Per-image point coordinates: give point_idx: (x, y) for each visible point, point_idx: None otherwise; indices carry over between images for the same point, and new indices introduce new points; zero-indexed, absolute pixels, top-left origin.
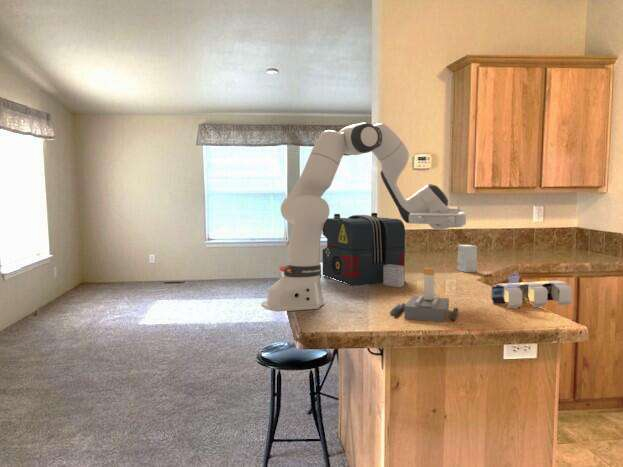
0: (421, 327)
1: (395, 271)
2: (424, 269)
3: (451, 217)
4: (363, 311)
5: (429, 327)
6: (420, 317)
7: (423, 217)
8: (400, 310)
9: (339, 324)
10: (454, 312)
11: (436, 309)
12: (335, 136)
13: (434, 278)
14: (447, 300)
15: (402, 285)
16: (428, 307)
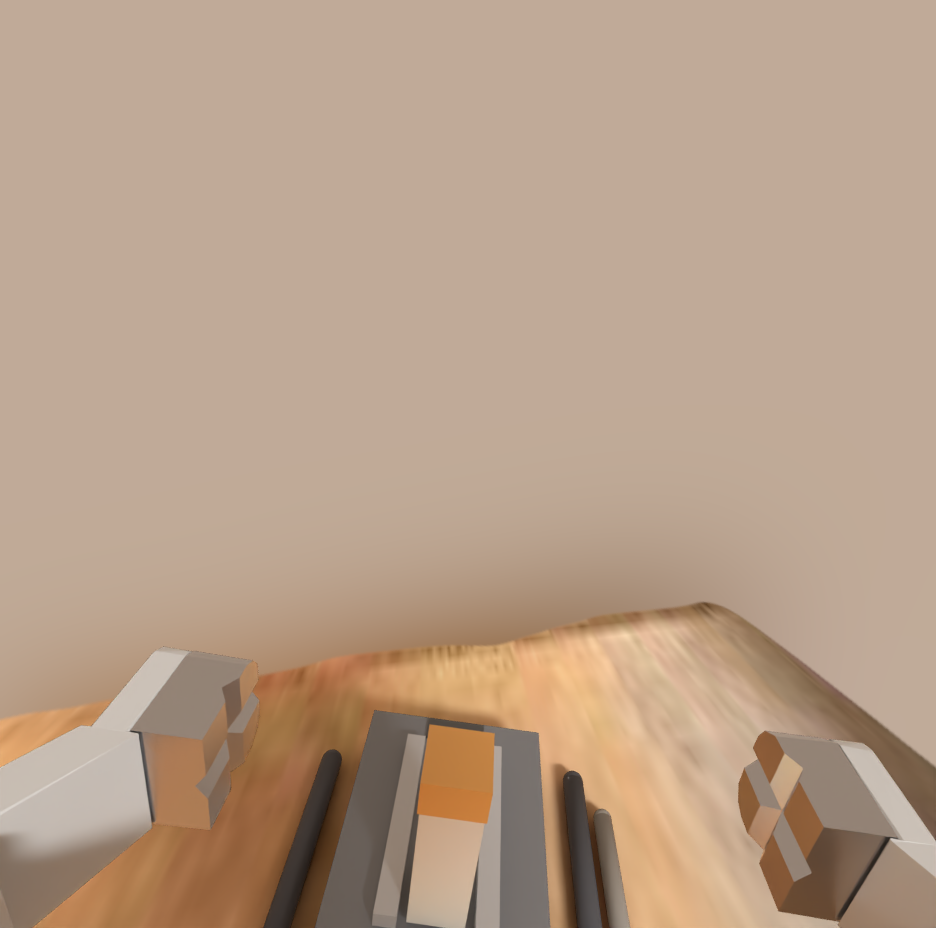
0: (453, 679)
1: None
2: (490, 737)
3: (88, 732)
4: (746, 864)
5: (427, 682)
6: None
7: (775, 747)
8: (571, 845)
9: (701, 673)
10: (307, 824)
11: (404, 717)
12: None
13: (417, 831)
14: (324, 901)
15: None
16: (437, 719)
